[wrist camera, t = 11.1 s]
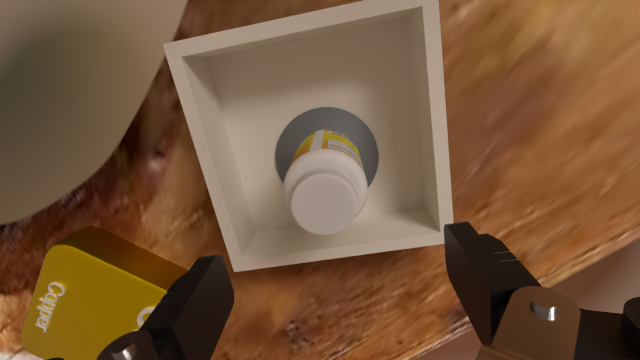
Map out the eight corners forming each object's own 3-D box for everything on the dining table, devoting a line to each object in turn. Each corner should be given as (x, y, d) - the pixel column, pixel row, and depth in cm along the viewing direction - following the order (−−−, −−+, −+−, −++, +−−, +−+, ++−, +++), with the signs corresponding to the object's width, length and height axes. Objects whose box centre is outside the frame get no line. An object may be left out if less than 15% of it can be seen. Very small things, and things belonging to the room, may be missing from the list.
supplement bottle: (301, 192, 30) (284, 252, 21) (291, 131, 28) (267, 166, 19) (363, 185, 30) (375, 244, 20) (357, 123, 28) (367, 154, 18)
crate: (195, 47, 27) (162, 44, 22) (417, 0, 26) (437, -16, 20) (250, 239, 33) (233, 272, 28) (435, 212, 31) (454, 242, 26)
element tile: (83, 216, 34) (44, 240, 29) (218, 281, 36) (201, 313, 31) (48, 319, 38) (9, 353, 34) (169, 371, 40) (148, 410, 36)
